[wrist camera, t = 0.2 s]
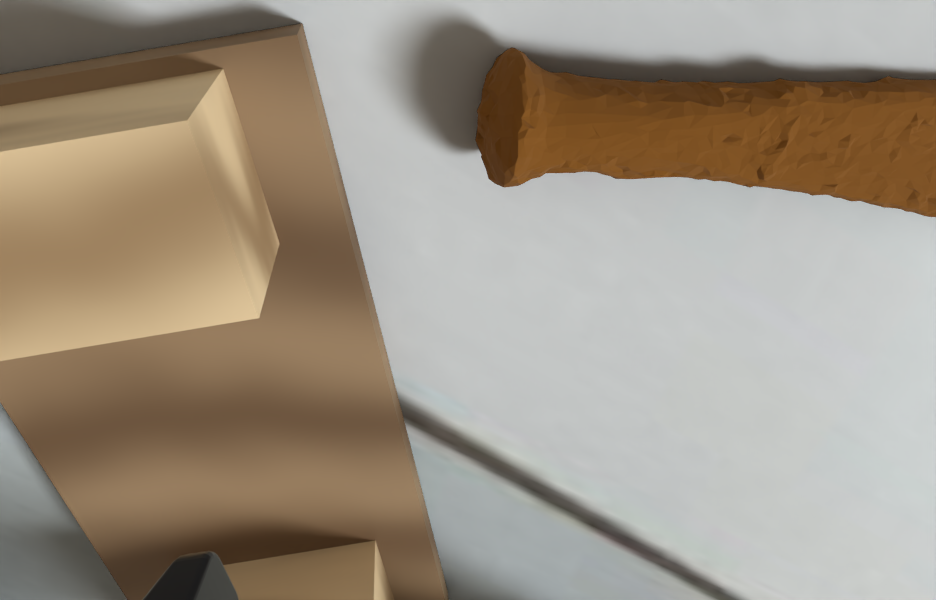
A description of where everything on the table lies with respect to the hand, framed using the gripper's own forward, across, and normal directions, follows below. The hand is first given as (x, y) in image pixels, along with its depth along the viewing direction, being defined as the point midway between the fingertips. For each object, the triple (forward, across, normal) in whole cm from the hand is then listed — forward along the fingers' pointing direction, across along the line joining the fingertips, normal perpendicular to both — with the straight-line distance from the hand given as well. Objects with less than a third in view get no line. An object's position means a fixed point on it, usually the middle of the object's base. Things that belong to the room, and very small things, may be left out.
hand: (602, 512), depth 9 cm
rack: (+14, +10, +9) cm, 20 cm away
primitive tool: (+15, -10, +2) cm, 18 cm away
